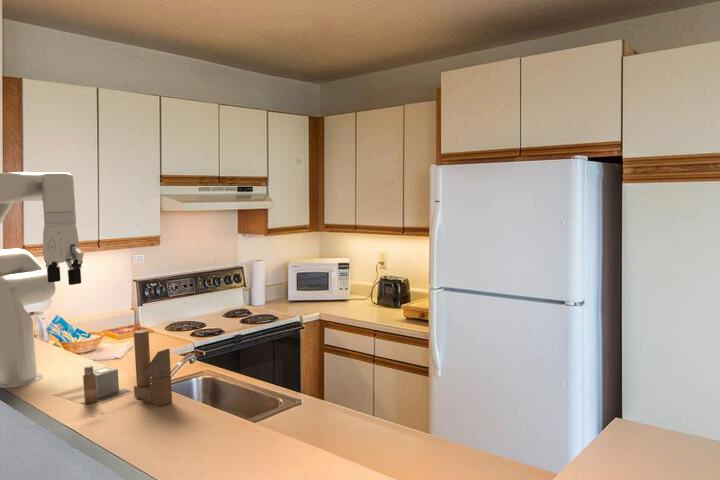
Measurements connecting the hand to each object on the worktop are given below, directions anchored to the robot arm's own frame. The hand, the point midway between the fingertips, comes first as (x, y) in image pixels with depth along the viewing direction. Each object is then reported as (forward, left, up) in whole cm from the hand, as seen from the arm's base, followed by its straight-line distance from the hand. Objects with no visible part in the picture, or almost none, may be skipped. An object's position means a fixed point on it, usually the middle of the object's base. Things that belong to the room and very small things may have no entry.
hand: (64, 282), depth 155 cm
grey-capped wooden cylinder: (+14, -3, -29) cm, 33 cm away
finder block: (+9, +4, -29) cm, 31 cm away
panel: (+8, +1, -30) cm, 31 cm away
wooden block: (+25, +7, -31) cm, 40 cm away
